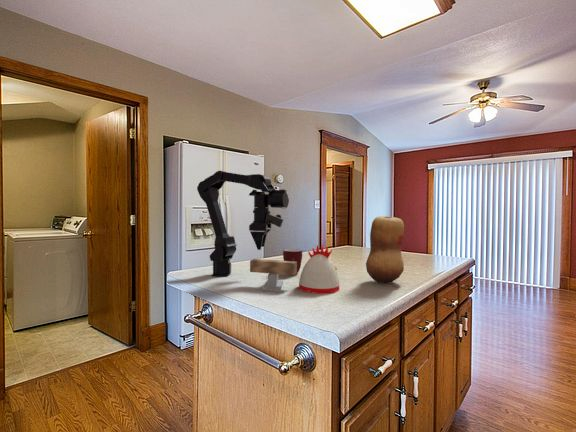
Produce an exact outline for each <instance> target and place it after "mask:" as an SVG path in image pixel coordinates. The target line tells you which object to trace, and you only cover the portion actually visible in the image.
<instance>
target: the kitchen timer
mask: <svg viewBox="0 0 576 432" xmlns="http://www.w3.org/2000/svg"><path fill="white" fill-rule="evenodd" d="M332 251H333V249H331V250H330V251H329V246H328V245H327V246H326V249H325V251H324V246H323V245H321V246H320V248H319V245H318V244H317V245H316V250H315V248H314V247H312V254H311V252H310V251H307V252H308V253H307V254H308V255H309V259H308V260H307V261H306V263H305V264H304V266H303V267H302V271H301V273H300V275H299V276H300V277H299V281H298V288H299V290H300V291H301V292H302V291H303V292H306V293H310V294H318V295H321V294H322V295H323V294H333V293H337V292H338V291H340V278H339V275H338V274H339V273H338V271H337V269H338V268H337V267H336V266H335V264H334V263H333V262H332V261H331V259H330V258H329V257H330V256H331V254H332Z"/></svg>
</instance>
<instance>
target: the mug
mask: <svg viewBox="0 0 576 432" xmlns="http://www.w3.org/2000/svg"><path fill="white" fill-rule="evenodd" d="M282 259H283V261H295V262H297V273H296V274H295V275H294V276H296V275H298V274H299V272H300V269H301V266H302V260H303V249H299V248H298V249H297V248H296V249H295V248H289V249H288V248H287V249H283V250H282Z"/></svg>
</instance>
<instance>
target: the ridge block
mask: <svg viewBox="0 0 576 432" xmlns="http://www.w3.org/2000/svg"><path fill="white" fill-rule="evenodd" d="M267 274H268V275H267V280H266V281H265V283H264V285H263V287H262V289H261V291H262V292H281V290H282V286H283V284H284V281H283V280H279V274H271V273H267Z"/></svg>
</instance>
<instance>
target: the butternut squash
mask: <svg viewBox="0 0 576 432" xmlns="http://www.w3.org/2000/svg"><path fill="white" fill-rule="evenodd" d="M369 236H370V237H369V242H370V243H369V245H370V251H369V254H368V257H367V259H366V262H365V269H366V271H367V272H366V273H367V274H368V275H369V277H370V278H371V279H372V280H373V281H375V282H376V283H379V284H388V283H389V284H390V283H393V282H394V281H396V280H398V279H399V278H400V276H402V274H403V272H404V268H405V266H404V263H405V262H404V259H403V256H402V255H403V254H402V247H403V242H404V238H405V224H404V221H403V220H402V219H401V218H398V217H394V216H393V217H392V216H389V215H388V216H387V215H381V216H379V215H378V216H376V217H375V218H374V219H373V220H372V222H371V227H370V232H369Z"/></svg>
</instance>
